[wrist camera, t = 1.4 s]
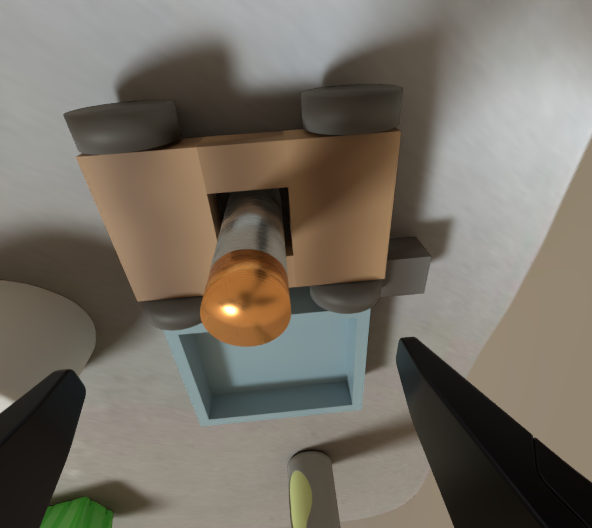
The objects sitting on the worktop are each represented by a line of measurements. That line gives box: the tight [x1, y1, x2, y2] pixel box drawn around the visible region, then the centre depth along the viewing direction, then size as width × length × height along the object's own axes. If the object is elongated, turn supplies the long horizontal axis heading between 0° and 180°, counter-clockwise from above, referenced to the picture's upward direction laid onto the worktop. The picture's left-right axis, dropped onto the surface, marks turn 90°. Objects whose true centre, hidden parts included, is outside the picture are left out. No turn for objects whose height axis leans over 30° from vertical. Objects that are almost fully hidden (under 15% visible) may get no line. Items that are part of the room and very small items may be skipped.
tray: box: [163, 286, 371, 426], centre depth 25 cm, size 13×11×3 cm
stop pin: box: [200, 188, 291, 347], centre depth 15 cm, size 3×3×10 cm
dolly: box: [64, 84, 431, 331], centre depth 18 cm, size 17×12×4 cm
